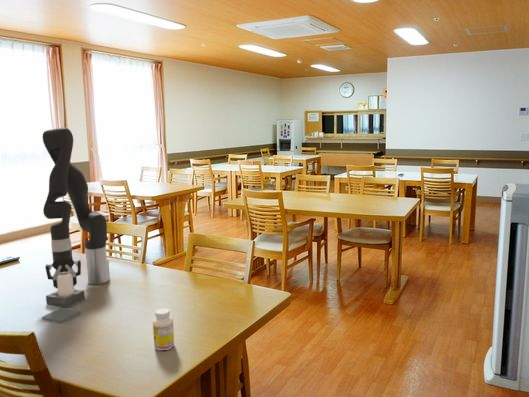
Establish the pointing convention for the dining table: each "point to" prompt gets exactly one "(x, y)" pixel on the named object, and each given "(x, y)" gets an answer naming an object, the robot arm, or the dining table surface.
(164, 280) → the dining table surface
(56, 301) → the sleeve
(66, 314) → the mat
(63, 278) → the can
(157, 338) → the supplement bottle
